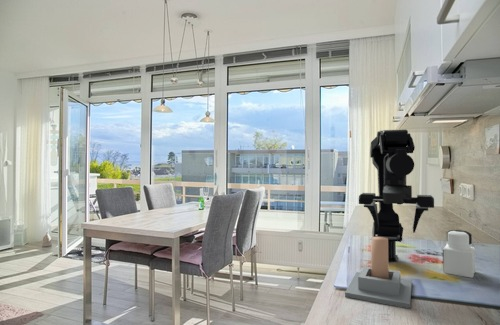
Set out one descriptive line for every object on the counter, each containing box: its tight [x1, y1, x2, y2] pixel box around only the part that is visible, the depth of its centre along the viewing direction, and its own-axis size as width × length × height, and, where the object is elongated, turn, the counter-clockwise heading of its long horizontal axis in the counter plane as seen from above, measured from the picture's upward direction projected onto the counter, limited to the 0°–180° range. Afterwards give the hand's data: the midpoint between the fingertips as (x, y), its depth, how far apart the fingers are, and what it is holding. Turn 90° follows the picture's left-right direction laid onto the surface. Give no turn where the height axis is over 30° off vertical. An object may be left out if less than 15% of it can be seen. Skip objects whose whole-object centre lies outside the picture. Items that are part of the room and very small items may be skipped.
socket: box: [344, 265, 413, 309], centre depth 81 cm, size 16×14×4 cm
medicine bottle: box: [442, 229, 476, 279], centre depth 93 cm, size 7×7×12 cm
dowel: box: [370, 236, 389, 279], centre depth 81 cm, size 4×4×12 cm
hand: (395, 230), depth 89 cm, fingers open, 9 cm apart
